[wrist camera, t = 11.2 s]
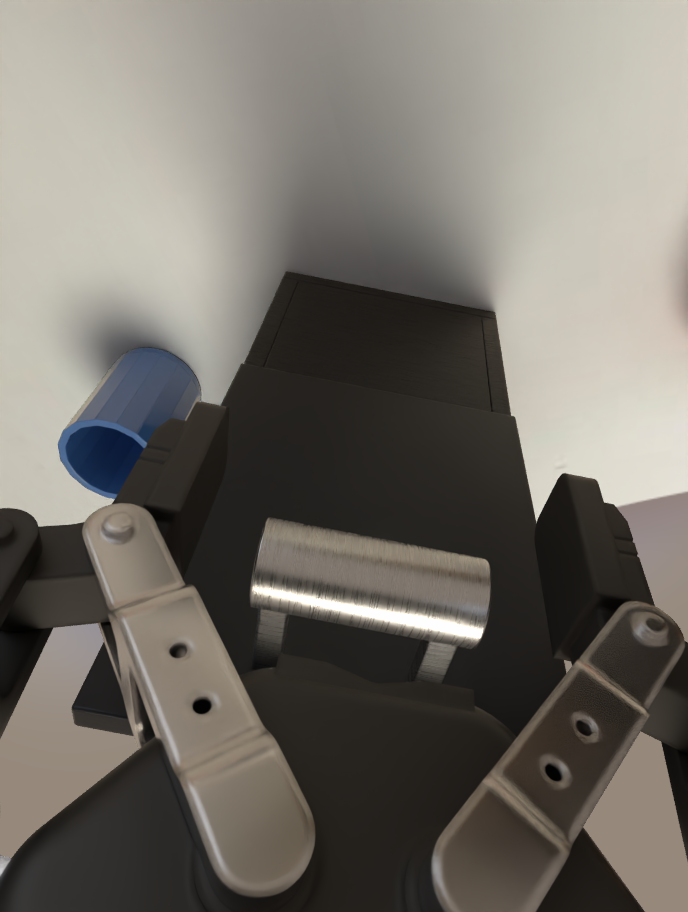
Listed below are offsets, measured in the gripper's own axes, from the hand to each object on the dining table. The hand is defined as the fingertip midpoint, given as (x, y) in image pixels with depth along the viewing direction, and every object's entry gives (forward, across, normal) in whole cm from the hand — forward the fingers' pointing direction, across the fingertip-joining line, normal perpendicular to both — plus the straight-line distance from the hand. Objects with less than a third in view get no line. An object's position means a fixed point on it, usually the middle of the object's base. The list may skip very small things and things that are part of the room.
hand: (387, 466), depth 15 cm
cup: (+22, +14, +16) cm, 31 cm away
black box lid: (+3, 0, +6) cm, 7 cm away
